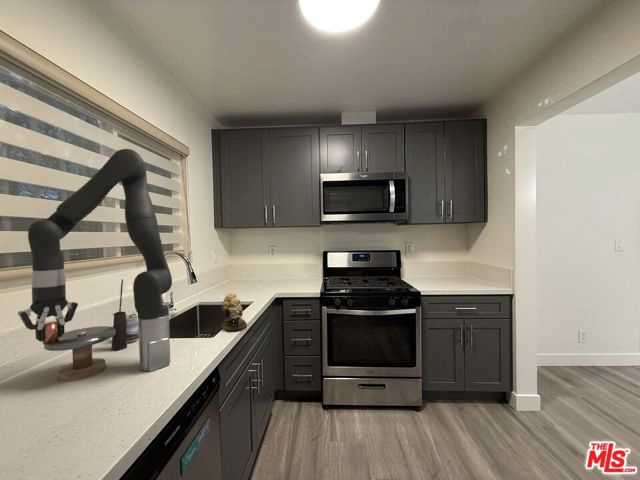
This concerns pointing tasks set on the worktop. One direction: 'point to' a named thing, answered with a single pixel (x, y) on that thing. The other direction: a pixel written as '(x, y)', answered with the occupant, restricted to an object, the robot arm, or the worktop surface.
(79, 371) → the wheel stand
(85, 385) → the worktop surface
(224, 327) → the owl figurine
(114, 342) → the butter churn
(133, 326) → the beverage can
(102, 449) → the worktop surface
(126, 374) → the worktop surface
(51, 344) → the grey disc with knob
